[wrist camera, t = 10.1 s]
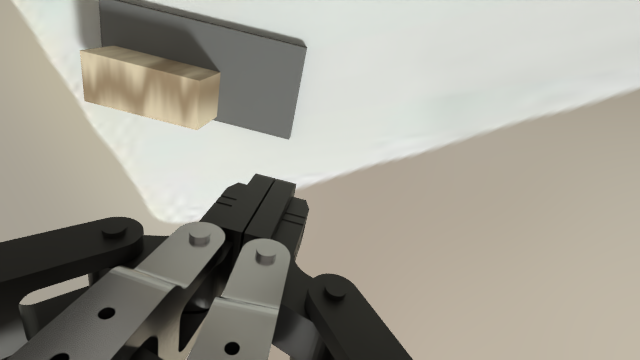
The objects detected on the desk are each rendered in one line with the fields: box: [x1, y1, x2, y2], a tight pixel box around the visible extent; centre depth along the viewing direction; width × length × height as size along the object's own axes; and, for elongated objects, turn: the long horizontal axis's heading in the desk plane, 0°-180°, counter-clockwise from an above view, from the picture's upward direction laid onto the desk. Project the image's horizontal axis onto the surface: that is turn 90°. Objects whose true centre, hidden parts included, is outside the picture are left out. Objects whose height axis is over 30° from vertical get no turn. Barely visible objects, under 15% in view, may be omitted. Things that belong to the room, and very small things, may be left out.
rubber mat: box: [99, 0, 307, 139], centre depth 39 cm, size 10×22×1 cm, turn 78°
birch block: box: [80, 46, 221, 130], centre depth 37 cm, size 5×5×12 cm
